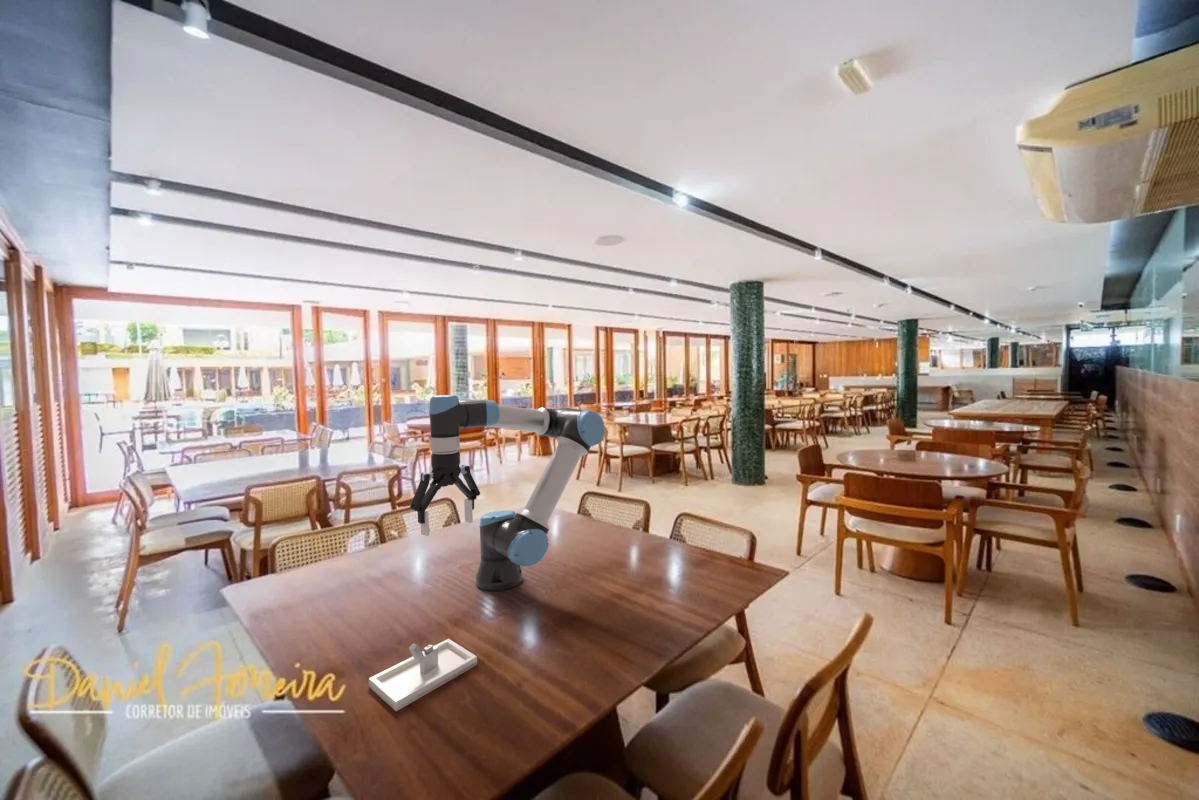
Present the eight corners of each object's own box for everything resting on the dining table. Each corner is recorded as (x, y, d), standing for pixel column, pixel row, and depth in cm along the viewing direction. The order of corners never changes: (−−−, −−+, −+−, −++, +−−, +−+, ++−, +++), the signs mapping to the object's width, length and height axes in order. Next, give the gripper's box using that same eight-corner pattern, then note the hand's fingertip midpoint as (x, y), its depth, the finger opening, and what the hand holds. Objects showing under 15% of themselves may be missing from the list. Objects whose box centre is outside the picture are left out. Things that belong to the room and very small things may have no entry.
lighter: (433, 662, 113) (432, 630, 112) (438, 664, 112) (437, 631, 111) (409, 680, 106) (408, 645, 106) (414, 682, 106) (413, 647, 105)
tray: (448, 646, 121) (448, 638, 121) (477, 664, 113) (476, 656, 113) (369, 687, 105) (368, 678, 105) (396, 711, 98) (395, 702, 98)
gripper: (475, 444, 141) (477, 514, 143) (394, 456, 122) (397, 537, 124) (491, 447, 137) (493, 519, 138) (409, 460, 117) (412, 544, 119)
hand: (447, 528), depth 131 cm, fingers open, 13 cm apart
